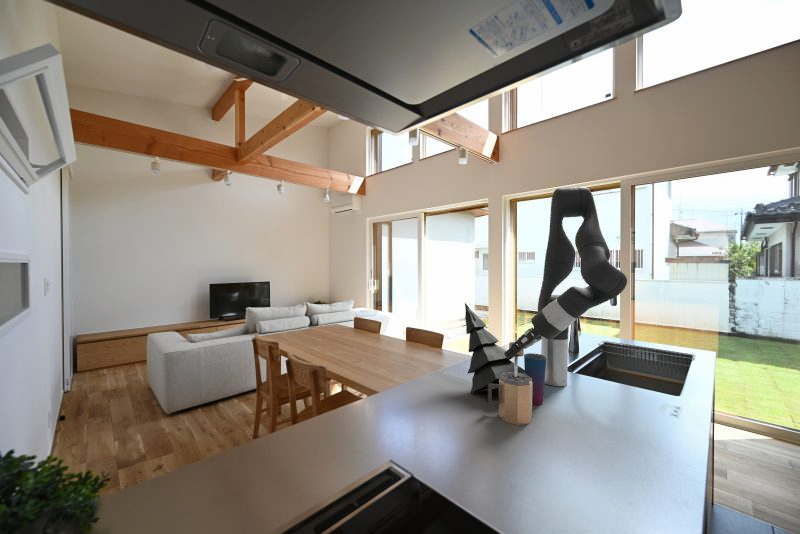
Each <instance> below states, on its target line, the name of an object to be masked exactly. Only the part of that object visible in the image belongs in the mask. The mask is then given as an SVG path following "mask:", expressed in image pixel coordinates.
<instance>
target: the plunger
mask: <svg viewBox="0 0 800 534" xmlns="http://www.w3.org/2000/svg"><path fill="white" fill-rule="evenodd" d="M514 342H515V341H510V342H509V344H508V345H509V346H508V349H509V348H511V347H512V346H511V345H512V344H513V343H514ZM517 346H518V347H519V345H518V344H517ZM519 348H520V347H519ZM524 354H525V349H522V350H521V351H520V352H518V353H517V354H515V355H514V356H515V357H514V358H513V359H514V362H513V363H514V378H517V373H518V366H519V364H518V363H519V362H518V361H519V358H520V357H524Z"/></svg>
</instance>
